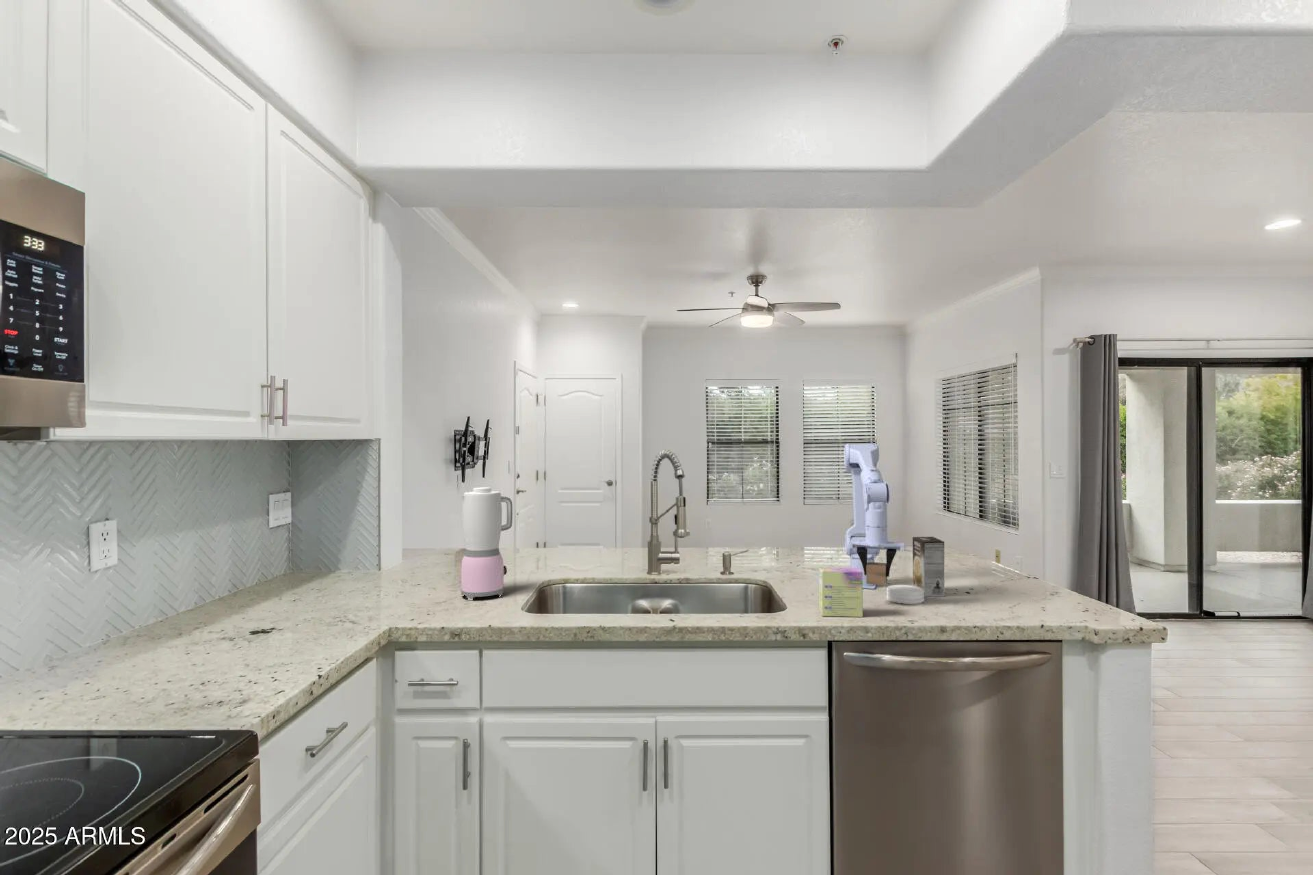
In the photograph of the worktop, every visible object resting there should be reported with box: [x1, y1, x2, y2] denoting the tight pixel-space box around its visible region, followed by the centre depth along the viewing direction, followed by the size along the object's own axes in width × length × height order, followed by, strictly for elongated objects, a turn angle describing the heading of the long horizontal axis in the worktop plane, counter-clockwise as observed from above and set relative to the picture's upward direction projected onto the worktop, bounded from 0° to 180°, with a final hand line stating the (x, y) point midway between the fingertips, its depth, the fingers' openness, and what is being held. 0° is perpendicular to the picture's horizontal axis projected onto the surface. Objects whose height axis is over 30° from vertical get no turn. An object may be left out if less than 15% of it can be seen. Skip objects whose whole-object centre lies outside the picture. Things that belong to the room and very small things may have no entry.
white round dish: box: [886, 584, 925, 605], centre depth 187 cm, size 10×10×4 cm
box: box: [818, 566, 864, 618], centre depth 172 cm, size 10×6×12 cm, turn 84°
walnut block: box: [866, 561, 888, 586], centre depth 182 cm, size 5×5×5 cm
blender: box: [460, 486, 513, 599], centre depth 196 cm, size 16×12×32 cm
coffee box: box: [912, 536, 945, 598], centre depth 195 cm, size 9×6×16 cm
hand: (876, 575), depth 182 cm, fingers closed on walnut block, 5 cm apart
